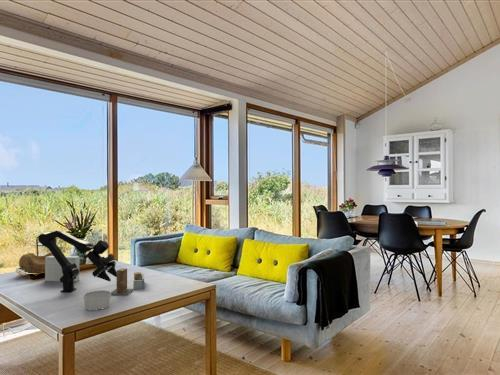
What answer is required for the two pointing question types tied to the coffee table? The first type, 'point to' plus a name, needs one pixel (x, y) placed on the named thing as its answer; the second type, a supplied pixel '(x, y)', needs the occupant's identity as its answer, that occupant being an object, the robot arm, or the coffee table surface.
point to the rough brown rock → (33, 263)
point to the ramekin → (97, 299)
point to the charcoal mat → (122, 293)
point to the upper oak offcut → (137, 276)
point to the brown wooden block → (121, 280)
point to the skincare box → (57, 268)
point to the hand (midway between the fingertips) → (114, 278)
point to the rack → (139, 282)
